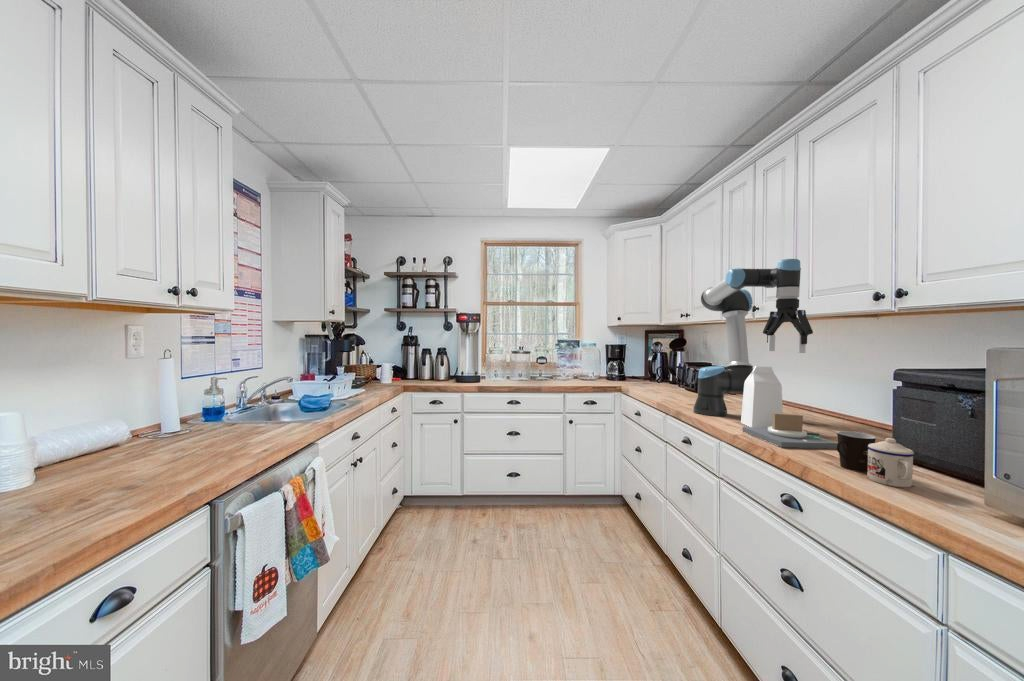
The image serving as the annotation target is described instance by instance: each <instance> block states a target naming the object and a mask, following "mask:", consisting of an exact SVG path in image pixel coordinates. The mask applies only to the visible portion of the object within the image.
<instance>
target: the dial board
mask: <svg viewBox="0 0 1024 681" xmlns="http://www.w3.org/2000/svg"><path fill="white" fill-rule="evenodd" d="M742 431H743V432H742V433H744V432H746V433H748V434H747V435H749V434H751V435H753V436H752V437H754V436H756V437H758V438H761V439H763V440H766V441H768V442H771V443H773V444H776V445H778V446H781V447H800V448H799V449H814V448H837V444H838V442H835V441H833V440H830V439H826V438H824V437H820V436H814V435H807V437H806V438H789V437H782V436H778V435H774V434H771V433H769V432H768V427H748V426H742ZM746 433H745V434H746ZM751 435H750V436H751ZM756 437H755V438H756ZM758 438H757V439H758ZM761 439H760V440H761ZM763 440H762V441H763ZM766 441H765V442H766ZM768 442H767V443H768ZM771 443H770V444H771ZM773 444H772V445H773ZM778 446H777V447H778Z"/></svg>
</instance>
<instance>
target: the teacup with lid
mask: <svg viewBox="0 0 1024 681" xmlns="http://www.w3.org/2000/svg"><path fill="white" fill-rule="evenodd" d="M867 448H868V471H867V472H866V473H867V478H868V479H869V480H870V481H873V482H875V483H878V484H880V485H884V486H885V485H886V486H888V487H889V486H890V487H895V488H911V487H913V474H914V469H913V466H914V465H913V463H914V456H915V452H914V451H913V450H912V449H910V448H907V447H905V446H903V445H902V444H900V443H897V440H896V439H895V438H891V437H886V438H885V441H884V440H883V441H878V442H875V443H871V444H869V445H868V446H867Z"/></svg>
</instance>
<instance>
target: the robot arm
mask: <svg viewBox="0 0 1024 681" xmlns="http://www.w3.org/2000/svg"><path fill="white" fill-rule="evenodd" d="M801 270H802V268H801V261H800V259H798V258H784V259H780V260H778V262H777V266H776V267H774V268H740V267H738V268H731V269H729V270H728V271H727V273H726V275H725V278H724V279H723V280H721V281H720V282H719V283H717V284H715V285H714V286H710V287H707V288H706V289H705V290H704V291H703V292H702V293H701V295H700V301H701V304H702V305H703V307H705V309H706V310H709V311H713V312H721V315H722V317H723V318H725V323H726V324H725V325H726V326H725V328H726V339H727V352H728V353H727V354H728V364H727V365H726V366H725V367H724V366H721V365H719V366H715V365H714V366H713V365H712V366H705V367H701V368H699V370H698V376H697V381H698V382H697V398H696V399H695V402H694V405H693V410H692V411H693V412H694V413H695V412H696V414H699V413H700V415H705V416H714V417H715V416H716V417H720V416H721V417H722V416H723V417H724V416H727V415H728V409H727V404H726V401H725V399H724V396H725V394H742V395H743V392H744V382H745V380H746V379H747V377H748V376H749V375H750V374H751V372H752V371H753V369H754V367H753V365H752V364H751V363H750V361H749V349H748V337H747V327H746V326H747V324H746V316H747V315H748V314H749V312H750V311H751V310H752V308H753V307H752V305H753V297H752V294H751V293H750V292H749V291H748V290H747V289H744V288H746V287H747V288H748V287H753V288H756V287H757V288H758V287H761V288H765V289H770V288H771V289H773V288H776V294H775V295H776V296H775V297H776V300H775V308H776V309H777V311H769V318H768V319H767V322H766V324H765V326H764V328H763V331H762V334H763V335H766V343H767V352H775V351H776V335H775V333H776V332H777V331H778V329H779V328H780V327H781V325H782V324H784V323H791V324H792V325H793V327H794V328H795V329H796V331H797V332H798V336H797V354H806V348H807V347H806V345H807V344H808V336H809V335H812V334H814V331H813V328H812V325H811V324H810V322H809V319H808V317H807V312H806V309H799V307H800V299H799V298H800V292H801V291H800V290H801V289H800V288H801V286H800V285H801V284H800V283H801V272H802V271H801Z"/></svg>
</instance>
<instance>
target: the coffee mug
mask: <svg viewBox="0 0 1024 681" xmlns="http://www.w3.org/2000/svg"><path fill="white" fill-rule="evenodd" d="M836 436H837V443H838V444H837V449H836V450H837V453H838V454H839V456H838V457H839V464H840V465H839V466H840V468H843V469H846V470H848V471H853V472H858V473H867V471H868V448H867V446H868V445H869V444H871V443H876V439H877V437H876V436H875V435H872V434H867V433H862V432H858V431H846V430H839V431H836Z"/></svg>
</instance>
